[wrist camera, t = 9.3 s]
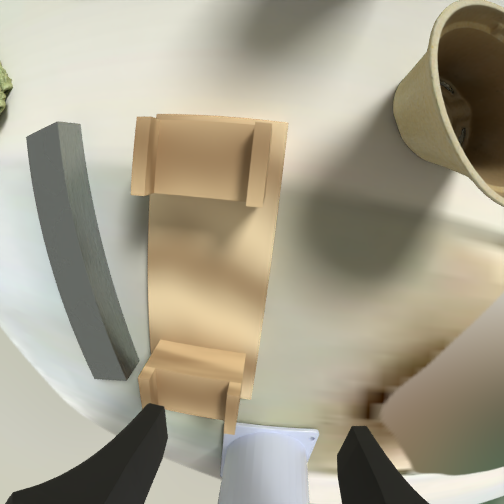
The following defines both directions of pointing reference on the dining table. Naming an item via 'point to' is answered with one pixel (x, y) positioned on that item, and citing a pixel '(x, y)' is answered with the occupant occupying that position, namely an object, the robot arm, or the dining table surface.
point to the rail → (78, 250)
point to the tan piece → (207, 255)
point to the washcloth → (4, 87)
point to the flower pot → (459, 96)
